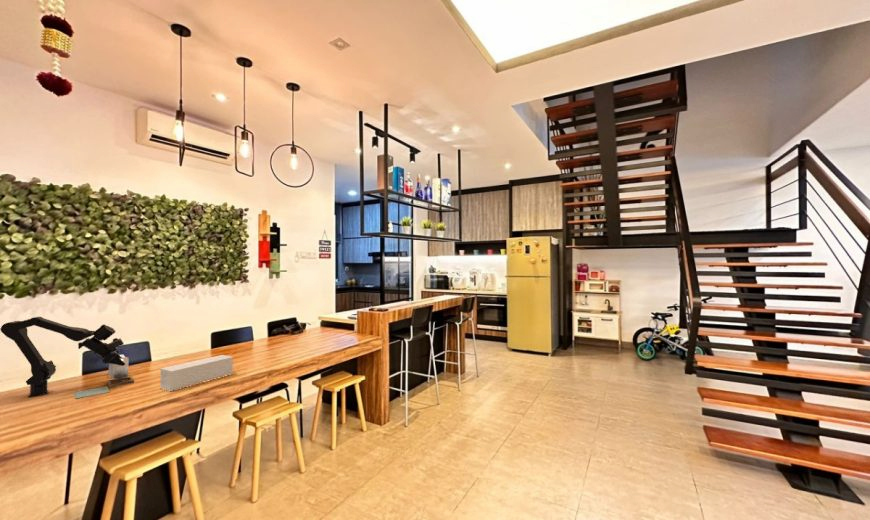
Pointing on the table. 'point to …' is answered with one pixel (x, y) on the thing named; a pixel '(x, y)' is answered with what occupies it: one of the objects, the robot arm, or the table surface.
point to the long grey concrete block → (195, 372)
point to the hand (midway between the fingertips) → (124, 363)
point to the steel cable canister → (121, 369)
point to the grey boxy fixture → (111, 368)
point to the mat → (91, 392)
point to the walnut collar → (120, 382)
